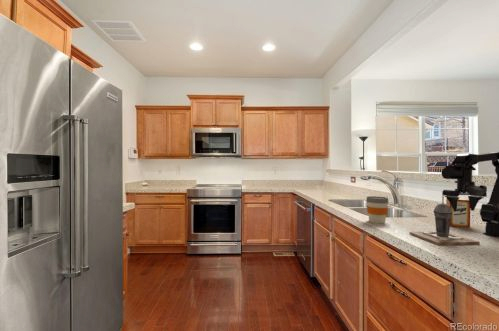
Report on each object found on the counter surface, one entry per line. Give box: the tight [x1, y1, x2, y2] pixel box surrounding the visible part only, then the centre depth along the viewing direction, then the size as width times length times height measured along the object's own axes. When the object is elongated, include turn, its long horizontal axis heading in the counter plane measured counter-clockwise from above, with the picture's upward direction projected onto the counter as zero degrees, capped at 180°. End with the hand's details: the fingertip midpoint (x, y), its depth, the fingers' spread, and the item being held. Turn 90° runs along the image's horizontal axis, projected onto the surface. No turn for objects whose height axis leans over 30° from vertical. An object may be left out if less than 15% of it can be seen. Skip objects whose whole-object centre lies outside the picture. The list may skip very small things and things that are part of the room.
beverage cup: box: [433, 195, 452, 238], centre depth 124 cm, size 7×7×20 cm
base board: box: [409, 230, 480, 246], centre depth 124 cm, size 20×18×2 cm
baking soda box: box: [445, 197, 471, 228], centre depth 151 cm, size 10×6×16 cm
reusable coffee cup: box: [365, 195, 389, 224], centre depth 161 cm, size 12×13×15 cm
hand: (463, 210), depth 128 cm, fingers open, 9 cm apart
